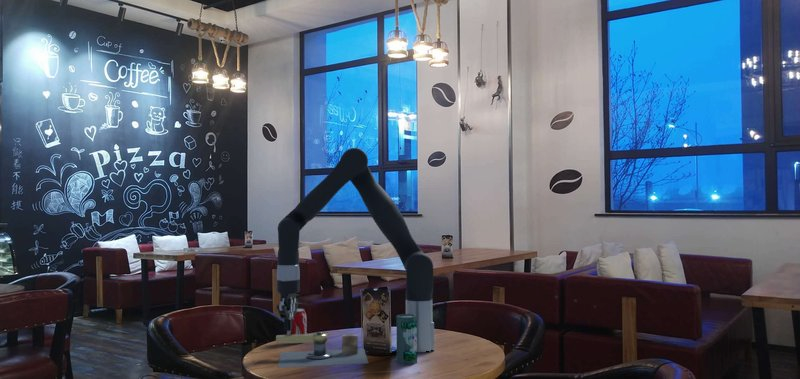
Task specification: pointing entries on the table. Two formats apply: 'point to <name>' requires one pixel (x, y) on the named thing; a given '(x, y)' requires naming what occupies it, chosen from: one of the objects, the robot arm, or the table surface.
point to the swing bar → (302, 338)
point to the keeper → (350, 344)
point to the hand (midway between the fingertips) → (288, 330)
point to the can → (406, 339)
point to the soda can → (298, 323)
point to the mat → (337, 359)
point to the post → (320, 352)
